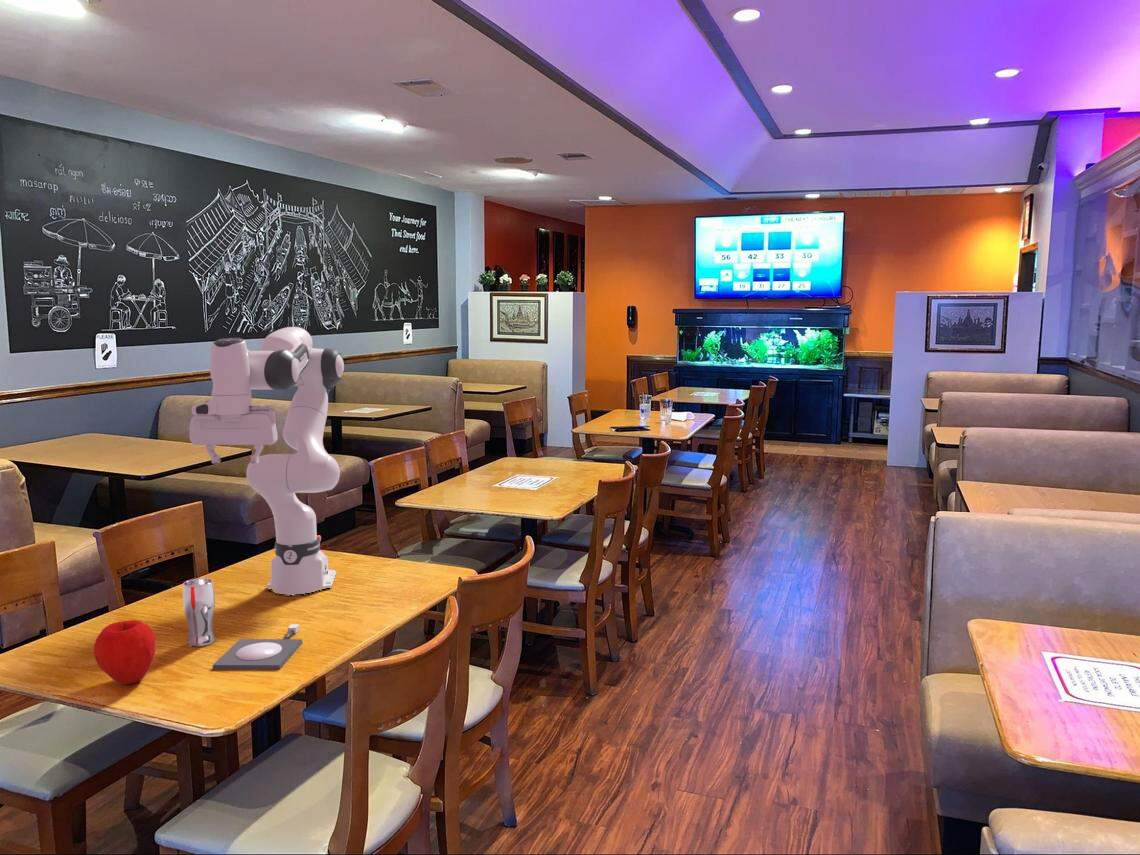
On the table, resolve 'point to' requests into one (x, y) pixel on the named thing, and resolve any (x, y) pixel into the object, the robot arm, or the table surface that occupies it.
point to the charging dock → (260, 652)
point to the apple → (125, 650)
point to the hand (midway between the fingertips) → (235, 463)
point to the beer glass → (199, 610)
